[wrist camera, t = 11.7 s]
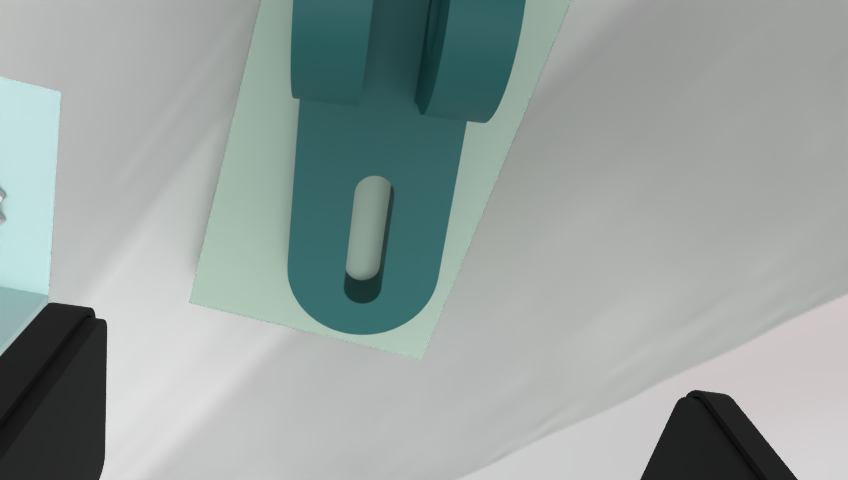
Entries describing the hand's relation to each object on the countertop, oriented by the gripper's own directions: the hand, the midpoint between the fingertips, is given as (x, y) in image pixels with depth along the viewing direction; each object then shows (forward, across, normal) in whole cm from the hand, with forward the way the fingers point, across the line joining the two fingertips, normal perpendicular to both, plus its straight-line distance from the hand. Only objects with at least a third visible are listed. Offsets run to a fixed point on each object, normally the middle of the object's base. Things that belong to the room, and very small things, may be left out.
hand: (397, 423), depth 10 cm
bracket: (+20, 0, +1) cm, 20 cm away
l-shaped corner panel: (+23, +21, +8) cm, 32 cm away
